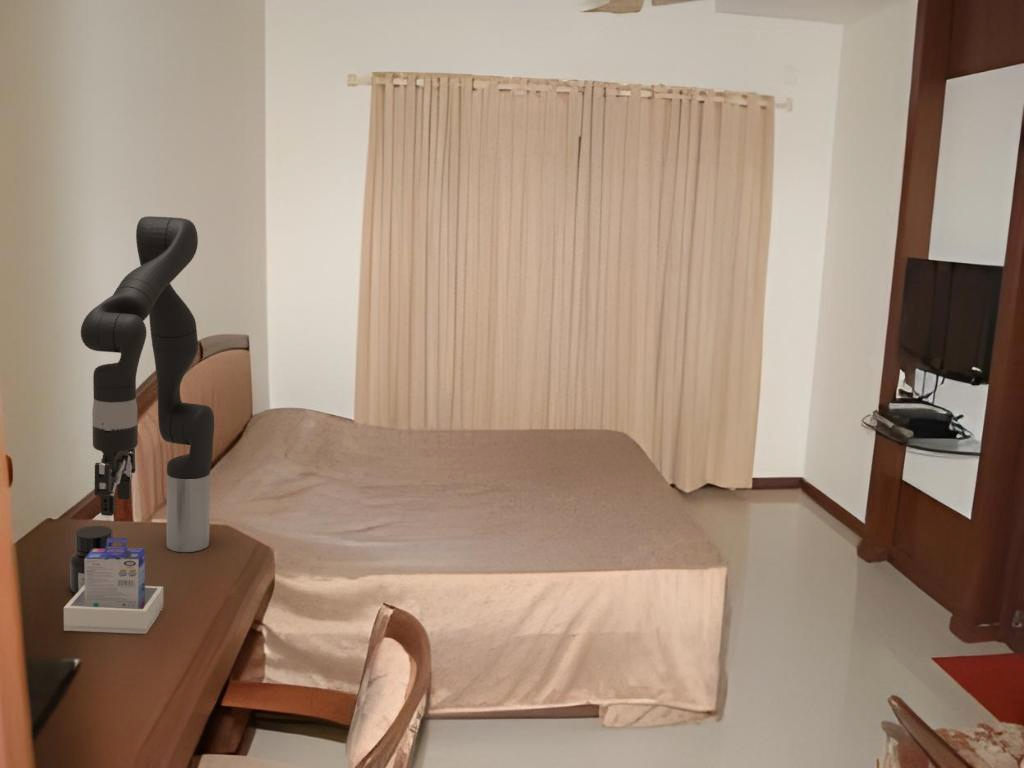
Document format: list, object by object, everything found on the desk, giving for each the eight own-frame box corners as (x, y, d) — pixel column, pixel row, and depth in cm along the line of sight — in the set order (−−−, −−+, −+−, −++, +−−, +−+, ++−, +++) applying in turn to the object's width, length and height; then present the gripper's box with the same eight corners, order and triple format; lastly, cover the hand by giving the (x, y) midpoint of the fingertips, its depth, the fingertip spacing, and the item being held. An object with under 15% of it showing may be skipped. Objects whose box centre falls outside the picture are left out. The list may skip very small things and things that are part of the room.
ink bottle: (82, 602, 179) (81, 544, 177) (59, 587, 184) (58, 531, 182) (129, 587, 187) (128, 532, 184) (106, 574, 192) (105, 520, 189)
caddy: (86, 604, 178) (85, 583, 177) (163, 608, 179) (163, 586, 178) (63, 630, 168) (63, 607, 167) (145, 633, 169) (145, 611, 168)
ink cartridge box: (146, 606, 177) (146, 536, 174) (140, 619, 172) (140, 547, 169) (92, 606, 175) (91, 535, 172) (83, 620, 170) (82, 546, 167)
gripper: (108, 411, 173) (109, 492, 176) (78, 431, 159) (80, 519, 162) (148, 413, 173) (149, 494, 177) (123, 433, 159) (123, 521, 163)
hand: (116, 506), depth 169 cm, fingers open, 8 cm apart
